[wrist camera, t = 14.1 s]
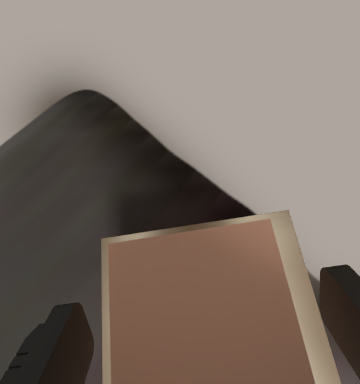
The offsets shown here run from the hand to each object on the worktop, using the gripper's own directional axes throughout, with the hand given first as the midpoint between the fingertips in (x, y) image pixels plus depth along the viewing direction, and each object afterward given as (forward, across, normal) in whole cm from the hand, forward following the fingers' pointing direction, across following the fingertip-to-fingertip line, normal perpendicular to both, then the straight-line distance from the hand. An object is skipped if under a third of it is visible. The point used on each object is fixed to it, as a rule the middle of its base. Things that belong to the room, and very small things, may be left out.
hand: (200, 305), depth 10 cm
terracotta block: (+5, 0, +5) cm, 7 cm away
